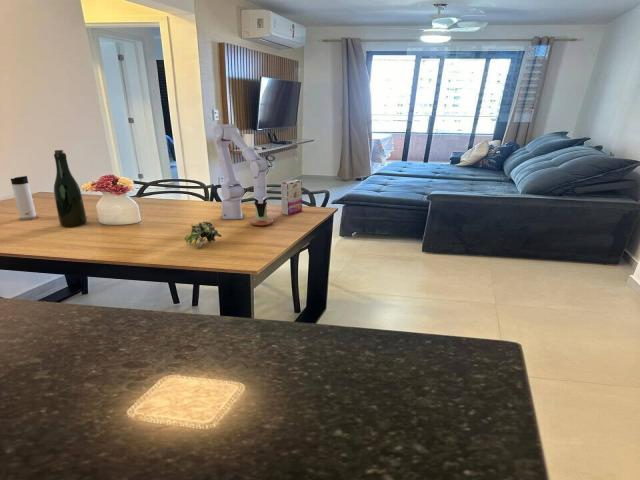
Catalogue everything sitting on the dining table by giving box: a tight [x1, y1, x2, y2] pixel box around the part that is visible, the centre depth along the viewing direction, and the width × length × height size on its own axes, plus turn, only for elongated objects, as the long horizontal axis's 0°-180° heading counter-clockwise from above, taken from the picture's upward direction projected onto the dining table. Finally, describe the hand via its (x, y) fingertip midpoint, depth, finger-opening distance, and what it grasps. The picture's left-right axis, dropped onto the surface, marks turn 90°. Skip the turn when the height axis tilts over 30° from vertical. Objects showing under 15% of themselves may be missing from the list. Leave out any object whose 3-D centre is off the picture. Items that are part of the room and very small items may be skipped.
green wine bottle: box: [53, 149, 88, 228], centre depth 167 cm, size 10×10×33 cm
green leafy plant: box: [184, 220, 222, 249], centre depth 148 cm, size 11×11×12 cm
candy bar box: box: [280, 179, 303, 216], centre depth 196 cm, size 11×5×16 cm, turn 143°
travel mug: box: [10, 175, 38, 221], centre depth 177 cm, size 6×7×20 cm
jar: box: [254, 205, 268, 220], centre depth 176 cm, size 5×5×6 cm
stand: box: [248, 216, 274, 227], centre depth 178 cm, size 11×11×2 cm
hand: (261, 215), depth 177 cm, fingers closed on jar, 5 cm apart
